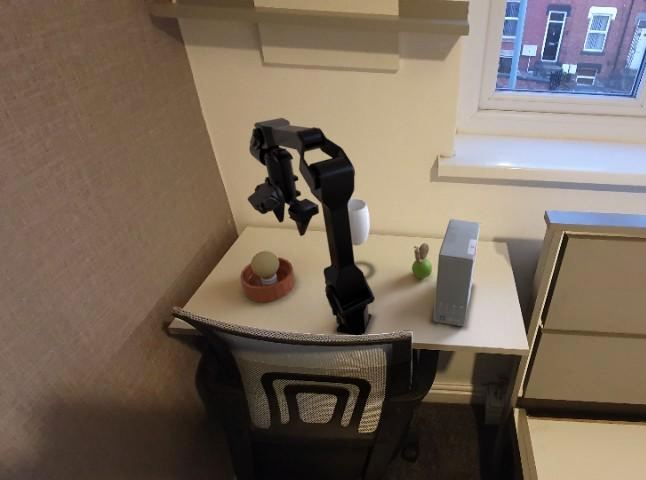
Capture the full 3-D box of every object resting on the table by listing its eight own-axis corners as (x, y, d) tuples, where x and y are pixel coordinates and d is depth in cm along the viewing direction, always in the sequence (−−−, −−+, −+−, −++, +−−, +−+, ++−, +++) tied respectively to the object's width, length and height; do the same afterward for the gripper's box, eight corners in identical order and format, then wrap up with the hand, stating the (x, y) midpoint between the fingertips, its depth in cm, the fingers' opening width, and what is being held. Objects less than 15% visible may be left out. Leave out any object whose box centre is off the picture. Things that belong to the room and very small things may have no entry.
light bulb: (273, 296, 98) (265, 264, 92) (251, 290, 99) (242, 258, 94) (288, 280, 103) (282, 249, 97) (268, 274, 104) (260, 244, 99)
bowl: (303, 275, 106) (300, 260, 103) (281, 306, 96) (278, 291, 93) (260, 268, 107) (256, 254, 104) (235, 299, 97) (230, 284, 94)
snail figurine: (406, 280, 106) (406, 243, 99) (417, 267, 110) (418, 231, 103) (423, 287, 104) (425, 250, 97) (435, 273, 108) (437, 237, 102)
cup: (340, 275, 106) (333, 209, 94) (353, 260, 112) (347, 195, 100) (365, 281, 104) (360, 214, 93) (376, 265, 110) (373, 200, 98)
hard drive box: (464, 328, 93) (473, 261, 81) (432, 322, 94) (436, 255, 82) (472, 285, 105) (480, 222, 94) (444, 280, 106) (449, 217, 95)
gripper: (227, 171, 93) (243, 227, 102) (272, 198, 83) (285, 257, 92) (270, 158, 100) (281, 211, 109) (316, 181, 91) (324, 237, 100)
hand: (291, 228), depth 102 cm, fingers open, 9 cm apart
